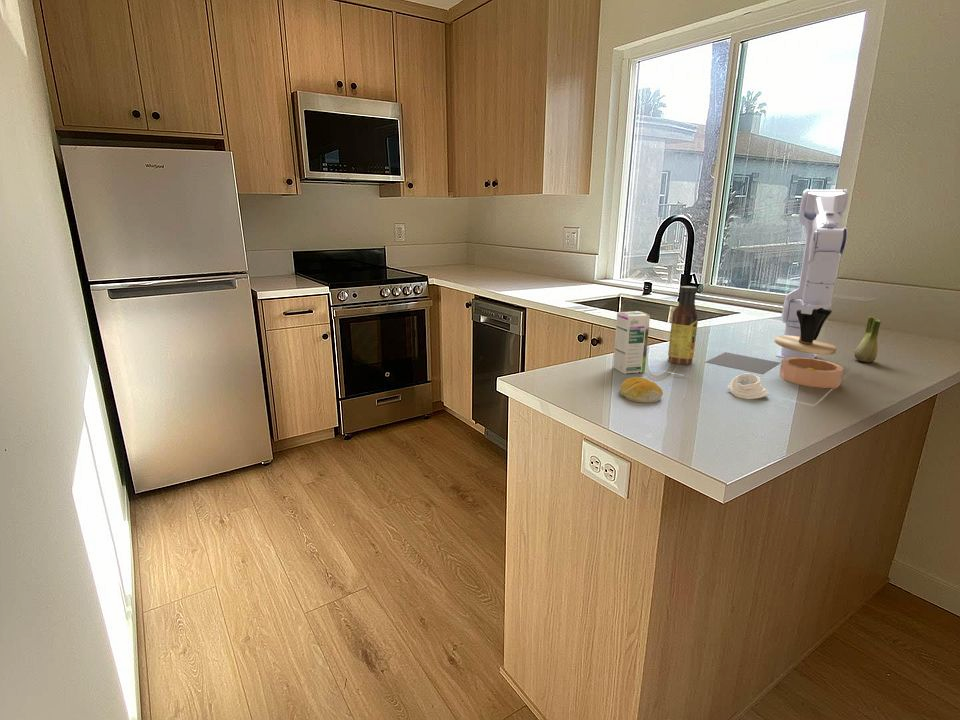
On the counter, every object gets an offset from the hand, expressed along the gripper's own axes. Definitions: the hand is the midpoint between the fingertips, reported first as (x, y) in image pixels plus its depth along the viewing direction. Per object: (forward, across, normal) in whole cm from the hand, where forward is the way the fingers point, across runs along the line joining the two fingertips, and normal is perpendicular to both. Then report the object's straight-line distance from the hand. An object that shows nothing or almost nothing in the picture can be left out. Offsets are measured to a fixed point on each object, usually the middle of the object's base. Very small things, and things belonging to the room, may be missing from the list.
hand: (808, 340), depth 123 cm
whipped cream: (+10, +21, -5) cm, 24 cm away
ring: (+9, 0, +2) cm, 10 cm away
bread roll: (+10, +39, -21) cm, 46 cm away
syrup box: (+10, +24, -32) cm, 42 cm away
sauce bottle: (+10, +8, -26) cm, 29 cm away
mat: (+9, -3, -14) cm, 17 cm away
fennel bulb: (+10, -30, +7) cm, 32 cm away
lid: (+2, 0, -1) cm, 2 cm away
